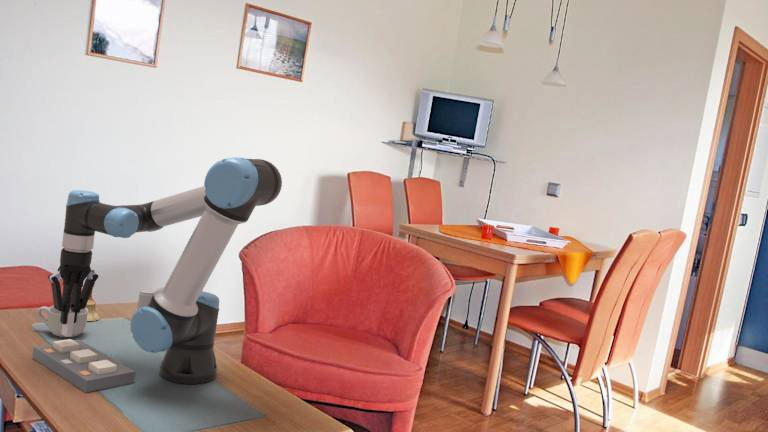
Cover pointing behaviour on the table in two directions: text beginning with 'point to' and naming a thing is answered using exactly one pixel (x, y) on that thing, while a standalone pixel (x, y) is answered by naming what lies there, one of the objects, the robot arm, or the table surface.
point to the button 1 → (66, 346)
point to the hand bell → (91, 308)
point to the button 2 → (102, 367)
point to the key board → (82, 368)
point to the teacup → (56, 325)
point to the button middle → (83, 356)
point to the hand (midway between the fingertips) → (66, 334)
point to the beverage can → (144, 298)
